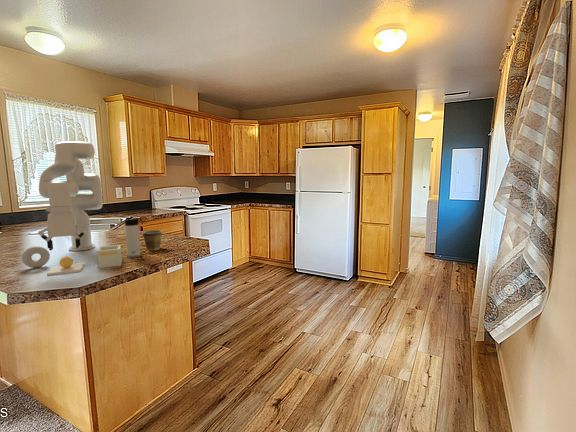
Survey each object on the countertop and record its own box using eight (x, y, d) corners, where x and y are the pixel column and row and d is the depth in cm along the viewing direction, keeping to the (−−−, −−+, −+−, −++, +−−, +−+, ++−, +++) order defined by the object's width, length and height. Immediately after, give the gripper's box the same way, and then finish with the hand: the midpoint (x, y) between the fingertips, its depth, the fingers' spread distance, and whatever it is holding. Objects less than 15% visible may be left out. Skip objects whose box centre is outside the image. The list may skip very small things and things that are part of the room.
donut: (23, 270, 137) (20, 248, 136) (22, 268, 140) (20, 247, 138) (51, 266, 144) (49, 245, 142) (50, 264, 146) (48, 243, 145)
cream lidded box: (100, 263, 149) (99, 246, 148) (121, 260, 153) (120, 244, 152) (98, 268, 141) (97, 251, 139) (121, 265, 144) (119, 249, 143)
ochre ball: (61, 266, 139) (60, 256, 139) (74, 265, 142) (73, 254, 141) (58, 269, 135) (57, 258, 134) (72, 268, 137) (71, 257, 136)
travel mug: (135, 258, 157) (133, 219, 154) (124, 257, 158) (121, 219, 156) (143, 255, 163) (141, 217, 160) (132, 254, 165) (130, 217, 162)
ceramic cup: (166, 248, 178) (165, 231, 177) (151, 252, 170) (149, 234, 168) (152, 245, 185) (151, 229, 183) (137, 248, 176) (136, 231, 175)
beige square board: (53, 267, 141) (53, 265, 141) (84, 264, 146) (84, 262, 146) (47, 275, 131) (46, 273, 130) (80, 271, 136) (80, 269, 136)
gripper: (33, 212, 128) (37, 252, 129) (83, 209, 135) (86, 248, 137) (38, 210, 134) (42, 249, 136) (85, 208, 142) (88, 245, 144)
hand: (64, 248), depth 137 cm, fingers open, 9 cm apart
